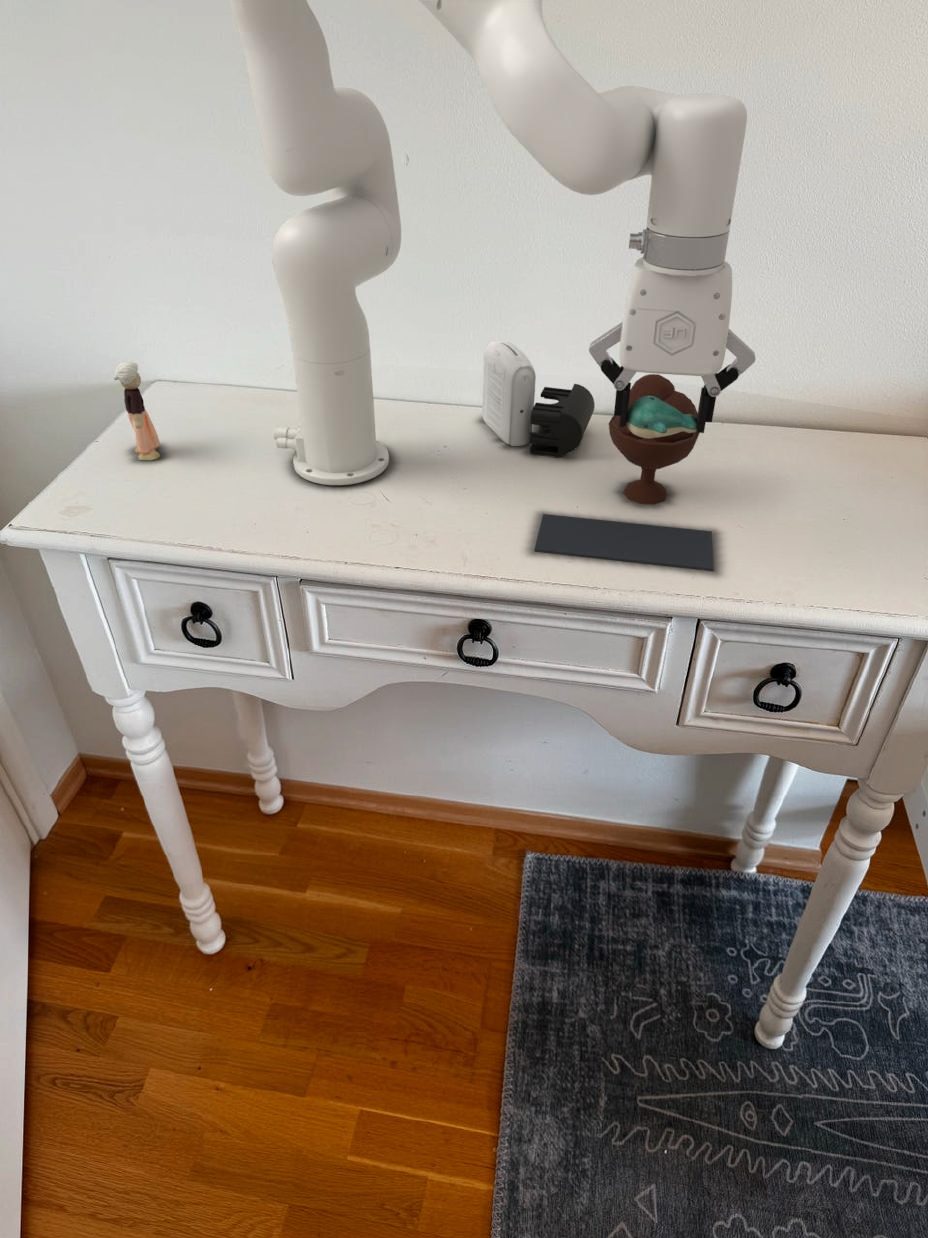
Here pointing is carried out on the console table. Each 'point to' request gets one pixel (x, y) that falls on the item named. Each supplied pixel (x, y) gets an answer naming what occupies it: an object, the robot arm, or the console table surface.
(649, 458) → the ice cream bowl
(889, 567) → the console table surface
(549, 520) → the plate
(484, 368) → the photo printer
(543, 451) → the end cap
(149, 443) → the grandmother figurine
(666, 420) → the whale figurine
